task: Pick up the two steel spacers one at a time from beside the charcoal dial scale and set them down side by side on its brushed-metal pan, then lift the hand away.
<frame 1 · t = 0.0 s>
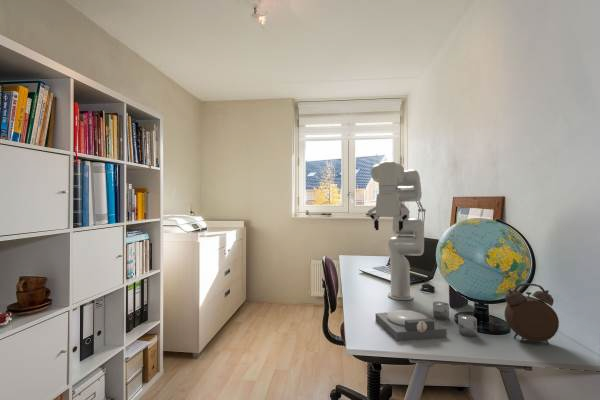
hand: (388, 230, 125), 37 cm above the table, tool pointing down, fingers open, 9 cm apart
alarm clock: (530, 341, 102), on the table
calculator: (459, 305, 140), on the table
spacer b: (467, 333, 109), on the table
scale: (408, 328, 114), on the table
spacer a: (441, 317, 124), on the table
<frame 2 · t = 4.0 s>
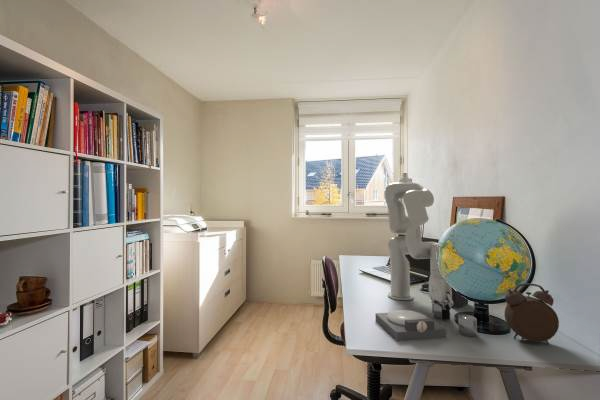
hand: (441, 315, 124), 1 cm above the table, tool pointing down, fingers closed on spacer a, 6 cm apart
spacer a: (441, 317, 124), on the table, touching gripper
everything else where it was.
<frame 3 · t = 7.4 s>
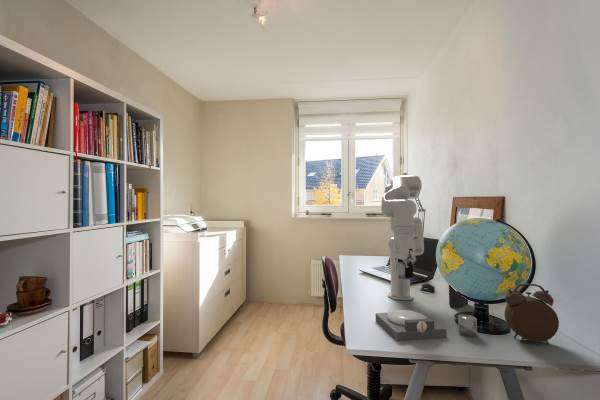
hand: (404, 275, 117), 20 cm above the table, tool pointing down, fingers closed on spacer a, 6 cm apart
spacer a: (404, 277, 117), point 19 cm above the table, touching gripper
everything else where it was.
when the fingers open (6 cm above the table, at t = 10.8 s): spacer a drops 1 cm, resting on scale.
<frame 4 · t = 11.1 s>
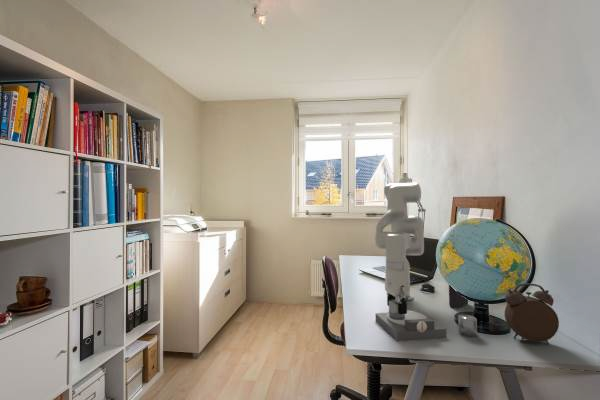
hand: (396, 309, 115), 7 cm above the table, tool pointing down, fingers open, 9 cm apart
spacer a: (397, 317, 115), point 4 cm above the table, touching scale
everything else where it was.
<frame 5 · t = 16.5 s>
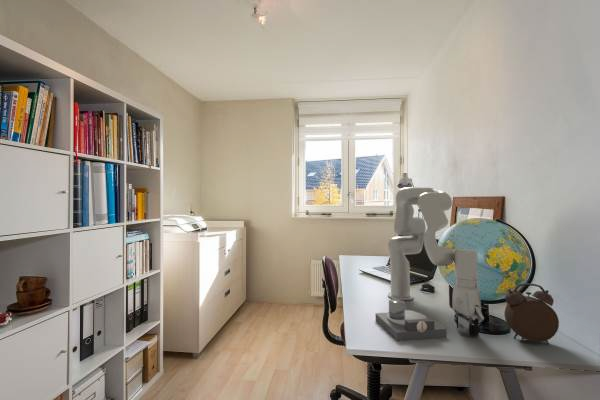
hand: (467, 331, 109), 1 cm above the table, tool pointing down, fingers closed on spacer b, 6 cm apart
spacer b: (467, 333, 109), on the table, touching gripper
everything else where it was.
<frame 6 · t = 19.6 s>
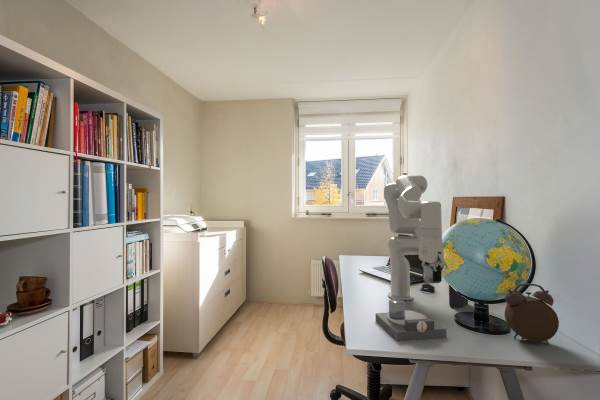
hand: (431, 278, 114), 19 cm above the table, tool pointing down, fingers closed on spacer b, 6 cm apart
spacer b: (431, 281, 114), point 18 cm above the table, touching gripper
everything else where it was.
when the fingers open (6 cm above the table, at t = 23.0 s): spacer b drops 1 cm, resting on scale.
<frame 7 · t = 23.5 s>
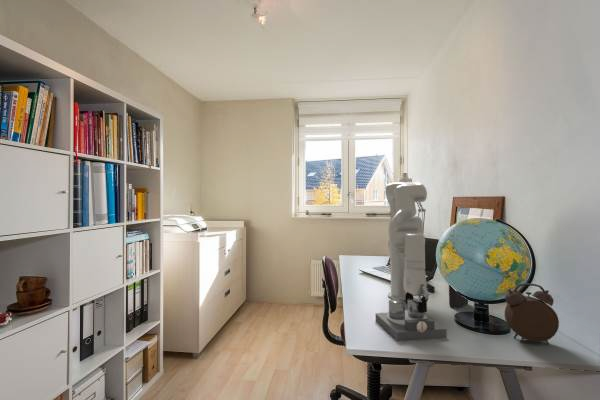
hand: (415, 308, 116), 7 cm above the table, tool pointing down, fingers open, 9 cm apart
spacer b: (415, 315, 116), point 4 cm above the table, touching scale
everything else where it was.
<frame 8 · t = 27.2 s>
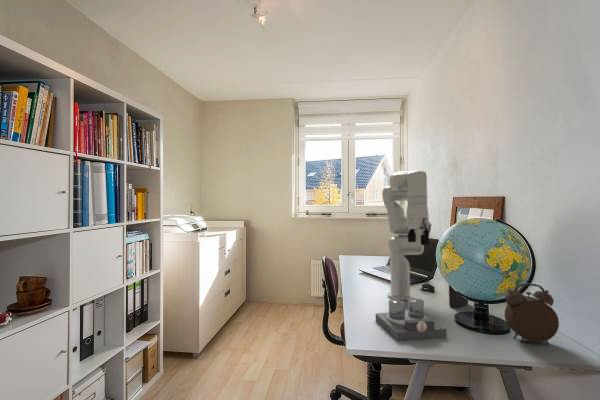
hand: (418, 243, 120), 32 cm above the table, tool pointing down, fingers open, 9 cm apart
nothing on the table moved.
at the end: spacer a inside the target area on the scale (3.9 cm from its centre), point 4.0 cm above the scale's base; spacer b inside the target area on the scale (4.0 cm from its centre), point 4.0 cm above the scale's base; the gripper is holding nothing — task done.
